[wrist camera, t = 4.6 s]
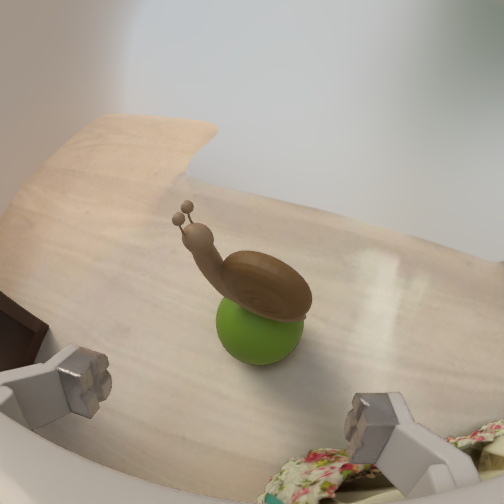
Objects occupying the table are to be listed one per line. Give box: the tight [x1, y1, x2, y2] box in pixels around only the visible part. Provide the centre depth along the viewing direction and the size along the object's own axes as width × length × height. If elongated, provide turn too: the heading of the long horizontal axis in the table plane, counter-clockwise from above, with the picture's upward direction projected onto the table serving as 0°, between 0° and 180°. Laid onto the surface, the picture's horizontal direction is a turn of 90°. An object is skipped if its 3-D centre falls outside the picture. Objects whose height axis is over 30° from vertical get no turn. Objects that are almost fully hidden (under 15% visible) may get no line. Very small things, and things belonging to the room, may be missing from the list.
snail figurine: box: [172, 200, 312, 365], centre depth 16 cm, size 5×6×12 cm
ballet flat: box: [257, 419, 504, 504], centre depth 11 cm, size 9×25×8 cm, turn 86°
